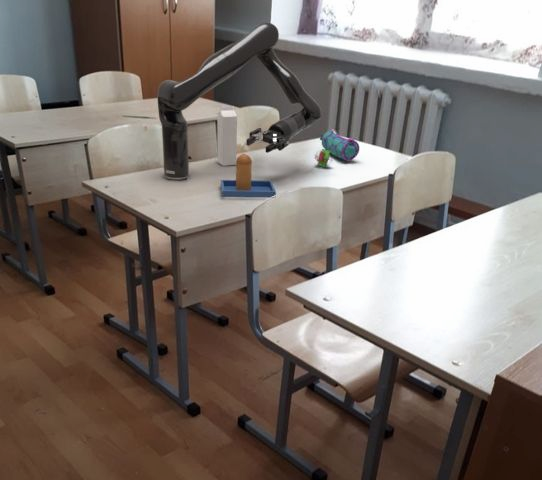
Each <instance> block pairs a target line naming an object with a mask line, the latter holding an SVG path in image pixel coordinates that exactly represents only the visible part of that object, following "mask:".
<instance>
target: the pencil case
mask: <svg viewBox="0 0 542 480" xmlns="http://www.w3.org/2000/svg"><path fill="white" fill-rule="evenodd" d="M319 141H321V146H322V149H325V150H328V151H330V153H329V154H330V155H332V156H335V157H337V158H339V159H340V160H341V159H342V160H344V161H346V162H351V161H353V160H354V159H355V158H356V157H357V156H358V155H359V152H360V144H359V142H357V140H355V139H354V138H345V137H343V136H341V135H340V134H338V131H337V130H336V129H329V130H327V131H325V133H324V134H322V135H320V137H319Z"/></svg>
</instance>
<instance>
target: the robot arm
mask: <svg viewBox="0 0 542 480" xmlns="http://www.w3.org/2000/svg"><path fill="white" fill-rule="evenodd" d="M279 37H280V33H279V29H278V27H277V26H276V25H275V24H274V23H271V22H261V23H259V24H258V25H257V26H256V27H254V29H253V30H251V31H250V32H249V33H247V34H246V35H244V36H243V37H242V38H240V39H239V40H237V41H235V42H232V43H231V44H229V45H227V46H225V47H224V48H222V49H220V50H218V51H216V52H215V53H213V54H212V55H210V56H209V57H208V58H206V59H205V61H203V63H202V64H201V66H200V67H199V69H198V70H197V72H196V73H195V74H193V75H192V76H189V77H188V78H187V79H185V80H182V81H175V80H172V79H166V80H163V81H162V82H161V83H160V84H159V86H158V89H157V110H158V111H157V112H158V118H159V121H160V125H161V140H162V159H163V161H162V163H163V178H165V179H166V180H172V181H183V180H186V179H188V178H189V177H190V171H189V170H190V169H189V168H190V167H189V165H190V164H189V160H192V159H193V158H192V157H191V155H189V131H188V130H189V128H188V121H187V119H186V118H185V117H184V114H183V111H184V110H187V108H189V107H190V106H191V105H192V104H193V103H195V102H196V101H198V99H199V98H201V97H202V96H203V95H205V94H206V93H208V92H209V91H211V90H212V89H214V88H215V87H217V86H219V85H220V84H221V83H223V82H225V81H227V80H228V79H230V78H232V76H234V75H235V74H236V73H238V72H239V71H240V70H241V69H242V68H243V67H245V66H246V64H248V63H249V61H251V60H252V59H253V58H255V57H256V58H257V59H258V60H259V61H260V62H261V64H262V65H263V66H264V67H265V68H266V70H267V72H268V73H270V74H271V76H272V77H273V78H274V80H275V82H276V83H277V84H278V86H279V87H280V89H281V90H282V92H283V94H284V95H285V97H286V98H287V100H288V102H289V103H290V104H291V106H297V105H298V104H299V105H300V106H301V107H302V108H301V109H299V110H298V111H297V112H294V113H291V114H290V115H288V116H286V117H284V118H281V119H280V120H278V121H276V122H275V123H272V124H271V125H270V126H269V128H268V129H267V130H262V127H257V128H256V129H254V130H252V131H250V132H249V133H248V134H249V137H248V138H246V146H248V147H249V146H251V145H253V144H254V143H260V144H261V143H267V144H268V145H266V146H265V153H267V154H268V153H271V152H273V151H276V150H278V151H283V150H284V149H285V148H286V147H288V146H289V145H290V140H291V139H293V138H294V137H295V136H296V135H298V134H299V133H301V132H302V131H304V130H306V129H308V128H309V127H311V126H312V125H315V123H317V122H318V121H320V120H321V119H322V116H323V111H322V108H321V106H320V105H319V103H318V102H317V101H316V100H315V99H314V98H313V97H312V96H311V95H310V94H309V93H307V91H306V90H305V89H304V87H303V85H302V83H301V82H300V80H299V79H298V77H297V75H295V73H294V72H293V71H291V70H290V69H289V68H288V67H287V66H286V65H285V64H284V63H282V61H281V60H280V59H279V58H278V56H277V54H276V53H275V50H274V48H275V47H276V45H277V44H278V42H279V39H280V38H279Z"/></svg>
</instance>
